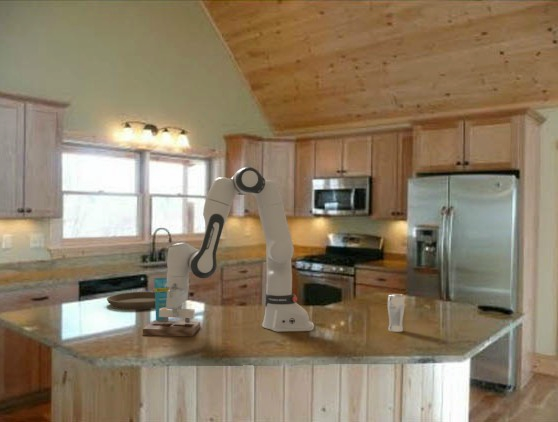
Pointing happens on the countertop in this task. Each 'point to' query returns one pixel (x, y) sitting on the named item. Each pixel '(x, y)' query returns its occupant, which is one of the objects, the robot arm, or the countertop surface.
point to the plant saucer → (133, 300)
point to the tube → (160, 295)
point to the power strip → (181, 314)
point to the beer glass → (395, 312)
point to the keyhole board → (171, 328)
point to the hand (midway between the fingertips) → (177, 315)
